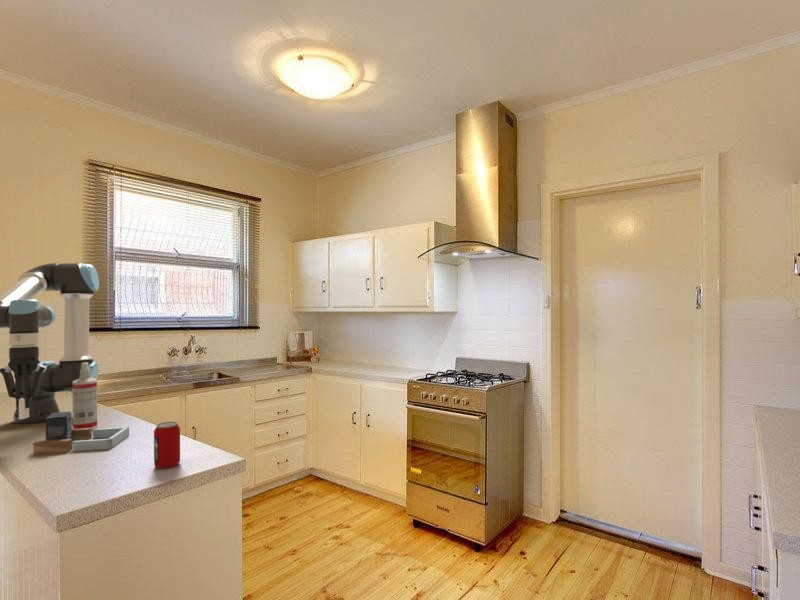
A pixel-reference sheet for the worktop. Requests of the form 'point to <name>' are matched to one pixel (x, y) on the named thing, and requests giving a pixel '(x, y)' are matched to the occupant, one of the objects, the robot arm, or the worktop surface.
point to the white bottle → (85, 400)
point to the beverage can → (166, 445)
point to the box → (59, 426)
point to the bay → (111, 433)
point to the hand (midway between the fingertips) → (24, 418)
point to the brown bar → (61, 442)
